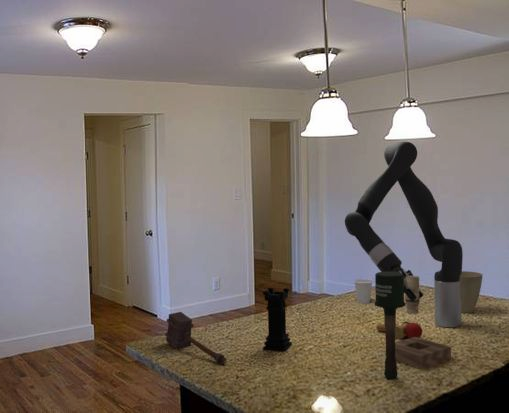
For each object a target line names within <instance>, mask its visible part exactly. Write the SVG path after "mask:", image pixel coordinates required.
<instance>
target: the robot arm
mask: <svg viewBox="0 0 509 413" xmlns="http://www.w3.org/2000/svg"><path fill="white" fill-rule="evenodd" d="M383 156H384V159H385V162H386V164H387V168H386V169H385V170H384V171H383V173H381V174H380V175H379V176H378V177H377V178H376V179H375V180H374V181H372V183H371V184H370V185H369V186H368V187H367V188H366V190H365V191H364V193H363V194H362V195H361V197H360V198H359V200H358V202H357V207H356V210H355V211H352V212H349V213H348V214H346V216H345V219H344V225H345V229H346V232H348V234H349V235H350V236H352V237H355V239H356V240H357V241H358V242H359V245H360V247H361V248H362V250H363V251H365V253H366V254H367V255H368V256H369V258H370V260H371V261H372V263H374V265H375V266H376V267H377V268H378V270H379V272H399V273H402V274H403V275H404V295H405V296H406V295H407V297H408V298H409V299H410V300H411V301H414V300H415V299H416V298H417V297H416V295H415V294H414V293H413V292H412V291H411V289H409V287H408V285H407V284H406V278H405V277H406V276H414V274H413V273H412V271H411V270H410V269H408V270H405V269H404V268H402V266H401V265H402V263H403V261H402V260H401V259H400V258H399V257H398V255H396V253H395V251H393V250H392V249H391V247H390V246H388V245H387V244H386V243H385V242H384V241H383V239H382V238H381V237H380V236H379V235H378V234H377V233H376V232H375V230H374V229H373V228H372V226H371V224H370V223H371V221H372V219H373V216H374V214H375V213H376V211H377V210H378V209H379V207H380V205H381V204H382V203H383V201H384V199H385V198H386V197H387V195H388V193H389V192H390V191H391V190H392V188H393V187H394V185H396V183H397V182H398V185H399V187H400V188H401V191H402V193H403V195H404V197H405V199H406V201H407V204H408V205H409V208H410V210H411V212H412V214H413V215H414V217H415V219H416V221H417V224H418V226H419V228H420V231H421V232H422V235H423V237H424V241H425V243H426V247H427V249H428V251H429V254H430V256H431V257H432V259H434V261H437V262H440V263H441V268H440V270H438V271H436V272H435V273H434V277H433V278H434V280H433V281H434V282H433V283H434V286H433V287H434V324H435V325H436V326H438V327H442V328H457V327H461V325H462V320H463V319H462V313H461V299H460V275H461V273H462V271H463V257H464V256H463V255H464V254H463V247H462V244H461V243H460V241H458V240H457V239H452V238H445V236H444V234H443V233H442V231H441V228H440V226H439V223H438V219H439V207H438V205H437V204H438V203H437V202H436V200H435V198H434V196H433V193H432V192H431V190H430V188H428V186H427V185H426V184H425V183H424V182H423V181H422V180H421V179H419V177H418V176H417V175H416V174H415V172H414V171H413V169H412V167H411V166H412V165H413V164H414V163H415V162H416V160H417V157H418V150H417V147H416V145H414V143H412V142H410V141H400V142H399V141H398V142H393V143H390V144H388V145H387V146H386V147H385V148H384V153H383ZM423 296H424V293H423V292H422V291H421V289H419V299H421V298H423Z"/></svg>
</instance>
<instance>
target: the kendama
mask: <svg viewBox="0 0 509 413" xmlns="http://www.w3.org/2000/svg"><path fill="white" fill-rule="evenodd" d="M376 331H377V332H385V325H384V324H383V323H379V322H378V323H377V325H376ZM405 336H406V337H407V339H409V338H413V337H417V338H421V337H422V336H423V328H422V326H421V325H420V324H419V323H417V322H410V321H409V320H405V321H403V322H402V324H401V325H398V324H396V327H395V339H399V340H403V338H405Z"/></svg>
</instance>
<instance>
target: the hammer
mask: <svg viewBox="0 0 509 413" xmlns="http://www.w3.org/2000/svg"><path fill="white" fill-rule="evenodd" d="M166 323H167V324H168V326H167V332H164V335H165V337H166V338H165V341H166V342H167V343H168V344H169V345H171V347H173V348H174V349H176V350H177V349H181V348H186V347H190V346H192V344H193V346H195V347H197V348H198V349H200V351H202V352H204V353H205V354H207V355H208V356H210V357H211V358H213V359H214V361H216V363H217V364H223V365H226V364H227V362H228V361H227V360H228V359H227V358H226V357H225V355H224V354H222V353H218V352H215V351H213V350H211V349H210V348H208V347H207V346H205V345H204V344H202V343H201V342H199V341H198V340H196V339H195V338H194V337H192V328H193V327H194V324H193V319H192V318H191V317H189V316H187V315H186V314H185V313H183V312H182V311H177V312H173V313H170V314H168V318H166Z"/></svg>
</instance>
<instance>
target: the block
mask: <svg viewBox="0 0 509 413" xmlns="http://www.w3.org/2000/svg"><path fill="white" fill-rule="evenodd" d="M395 358H396V362H399V363H402V364H405V365H407V364H408V366H410V365H411V366H410V367H413V366H414V367H413V368H416V367H417V368H416V369H419V368H420V369H419V370H424V369H427V368H430V367H433V366H437V365H440V364H442V363H444V362H448V361H452V346H448V345H445V344H442V343H439V342H435V341H431V340H427V339H424V338H421V337H420V338H417V337H413V338H406V339H401V340H399V341H395Z"/></svg>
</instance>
